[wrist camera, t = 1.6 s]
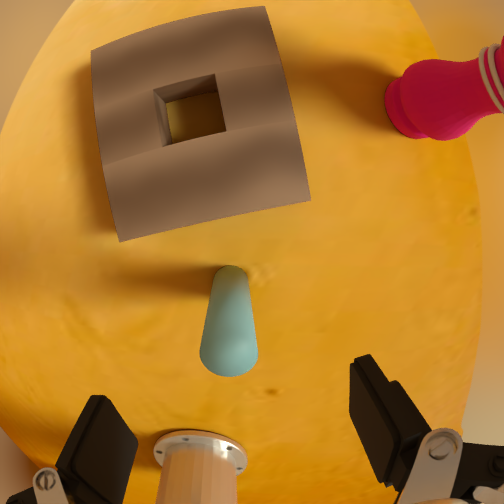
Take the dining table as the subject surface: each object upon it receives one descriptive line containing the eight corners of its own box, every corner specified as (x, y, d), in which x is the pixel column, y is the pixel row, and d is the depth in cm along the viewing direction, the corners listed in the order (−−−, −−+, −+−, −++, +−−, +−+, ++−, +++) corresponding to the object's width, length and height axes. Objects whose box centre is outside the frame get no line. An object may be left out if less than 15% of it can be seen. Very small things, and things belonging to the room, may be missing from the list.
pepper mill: (365, 101, 21) (552, 22, 2) (402, 62, 20) (552, -9, 1) (414, 159, 23) (606, 166, 3) (446, 116, 22) (605, 98, 2)
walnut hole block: (298, 197, 23) (311, 200, 19) (136, 232, 23) (119, 242, 19) (260, 28, 19) (264, 5, 15) (109, 66, 19) (90, 51, 15)
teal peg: (251, 294, 25) (262, 371, 14) (217, 301, 25) (208, 380, 14) (244, 262, 24) (251, 324, 14) (209, 269, 24) (192, 335, 14)
